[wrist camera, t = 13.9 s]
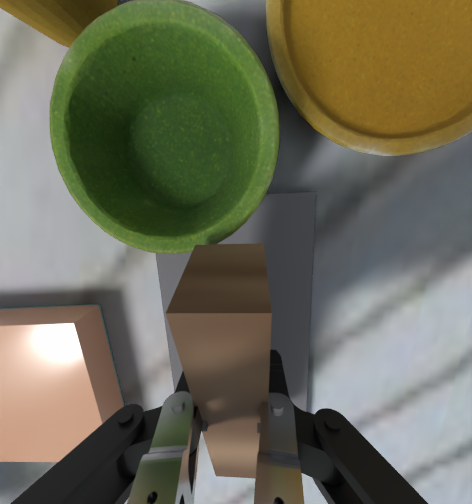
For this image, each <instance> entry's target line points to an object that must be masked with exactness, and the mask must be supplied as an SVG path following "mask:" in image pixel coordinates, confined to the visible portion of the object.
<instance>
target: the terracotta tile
mask: <svg viewBox="0 0 472 504" xmlns="http://www.w3.org/2000/svg"><path fill="white" fill-rule="evenodd" d="M124 406H125V404H124V400H123V396H122V392H121V388H120V384H119V379H118V375H117V371H116V367H115V363H114V359H113V355H112V351H111V347H110V342H109V338H108V334H107V330H106V326H105V322H104V318H103V314H102V310H101V305H100V304H86V305H62V306H37V307H12V308H0V462H59V461H60V460H61V459H62V458H64V457H65V456H66V455H67V454H68V453H69V452H70V451H72V450H73V449H74V448H75V447H76V446H77V445H79V444H80V443H81V442H82V441H83V440H84V439H85V438H87V437H88V436H89V435H90V434H91V433H92V432H93V431H95V430H96V429H97V428H98V427H99V426H100V425H102V424H103V423H104V422H105V421H106V420H107V419H108V418H110V417H111V416H112V415H113V414H114V413H115V412H116V411H118V410H119V409H121V408H122V407H124Z"/></svg>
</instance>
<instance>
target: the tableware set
mask: <svg viewBox="0 0 472 504" xmlns="http://www.w3.org/2000/svg"><path fill="white" fill-rule="evenodd" d="M0 8H1V9H3V10H5V11H6V12H8V13H10V14H11V15H13V16H15V17H16V18H18V19H19V20H21V21H23V22H24V23H26V24H28V25H29V26H31V27H33V28H34V29H36V30H38V31H39V32H41V33H43V34H44V35H46V36H48V37H49V38H51V39H53V40H54V41H56V42H58V43H59V44H62V45H64V46H67V47H69V50H68V52H67V53H66V55H65V57H64V59H63V61H62V64H61V66H60V68H59V71H58V73H57V75H56V79H55V83H54V87H53V92H52V96H51V101H50V135H51V143H52V149H53V152H54V156H55V159H56V162H57V166H58V169H59V172H60V174H61V176H62V178H63V180H64V182H65V184H66V186H67V188H68V190H69V192H70V194H71V195H72V197H73V198H74V200H75V201H76V202H77V204H78V205H79V206H80V208H81V209H82V210H83V211H84V212H85V213H86V214H87V215H88V216H89V218H90V219H91V220H92V221H93V222H94V223H95V224H97V225H98V226H99V227H100V228H101V229H102V230H104V231H105V232H106V233H108V234H110V235H111V236H113V237H114V238H116V239H118V240H119V241H121V242H123V243H126V244H128V245H130V246H132V247H135V248H138V249H142V250H145V251H148V252H153V253H159V254H183V253H189V252H192V251H193V249H194V246H195V245H211V244H218V243H219V242H221V241H223V240H224V239H226V238H228V237H229V236H231V235H232V234H233V233H235V232H236V231H237V230H238V229H239V228H240V227H241V226H242V225H244V224H245V223H246V222H247V220H248V219H249V218H250V217H251V216H252V214H253V213H254V212H255V211H256V209H257V208H258V206H259V205H260V203H261V201H262V200H263V198H264V197H265V195H266V193H267V191H268V188H269V186H270V184H271V181H272V179H273V176H274V172H275V168H276V164H277V159H278V152H279V145H280V124H279V113H278V108H277V102H276V98H275V94H274V90H273V87H272V84H271V82H270V80H269V77H268V75H267V73H266V71H265V69H264V67H263V65H262V63H261V61H260V59H259V58H258V56H257V55H256V53H255V52H254V51H253V49H252V48H251V46H250V45H249V44H248V42H247V41H246V40H245V38H244V37H243V36H242V35H241V34H240V33H239V32H238V31H237V30H236V29H235V28H234V27H233V26H231V25H230V24H229V23H227V22H226V21H225V20H224V19H222V18H221V17H220V16H218V15H216V14H214V13H212V12H210V11H208V10H206V9H204V8H202V7H200V6H198V5H196V4H193V3H191V2H187V1H183V0H134V1H129V2H126V3H124V4H121V5H119V6H118V2H117V0H0ZM265 10H266V28H267V38H268V43H269V49H270V54H271V58H272V61H273V65H274V68H275V71H276V74H277V76H278V79H279V81H280V83H281V85H282V87H283V89H284V91H285V93H286V95H287V96H288V98H289V99H290V101H291V102H292V104H293V105H294V107H295V108H296V110H297V111H298V112H299V113H300V114H301V115H302V116H303V117H304V119H305V120H306V121H307V122H308V123H309V124H310V125H311V126H312V127H313V128H314V129H315V130H316V131H318V132H319V133H321V134H322V135H324V136H325V137H327V138H328V139H330V140H331V141H333V142H335V143H337V144H339V145H342V146H344V147H346V148H349V149H352V150H355V151H358V152H361V153H367V154H374V155H380V156H402V155H409V154H416V153H421V152H425V151H429V150H432V149H435V148H438V147H441V146H444V145H446V144H449V143H452V142H454V141H457V140H458V139H460V138H462V137H464V136H466V135H468V134H470V133H471V132H472V0H266V5H265Z"/></svg>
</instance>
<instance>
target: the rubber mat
mask: <svg viewBox="0 0 472 504" xmlns="http://www.w3.org/2000/svg"><path fill="white" fill-rule="evenodd" d="M315 206H316V192H298V193H275V194H266V195H265V197H264V198H263V200H262V201H261V203H260V205H259V206H258V208H257V209H256V211H255V212H254V213H253V214H252V216H251V217H250V218H249V219H248V220H247V222H246V223H245V224H244V225H242V226H241V227H240V228H239V229H238V230H237V231H236V232H235V233H233V234H232V235H231V236H229V237H228V238H226V239H224V240H223V241H221V242H219V243H218V244H253V243H264V251H265V260H266V268H267V277H268V285H269V294H270V302H271V311H272V321H271V346H270V350H277V352H278V353H279V354H280V356H281V359H282V364H283V369H284V374H285V379H286V384H287V388H288V393H289V397H290V399H291V401H292V402H293V404H294V405H295V406H297V407H298V408H299V409H301V410H303V411H305V412H306V407H307V384H308V362H309V340H310V318H311V295H312V273H313V251H314V229H315ZM191 253H192V252H189V253H183V254H159V253H156V260H157V267H158V275H159V282H160V289H161V297H162V304H163V311H164V318H165V326H166V333H167V340H168V348H169V355H170V362H171V369H172V377H173V384H174V391H175V390H176V387H177V385H178V382H179V379H180V377H181V374H182V371H183V368H182V365H181V362H180V359H179V355H178V352H177V349H176V346H175V343H174V339H173V336H172V333H171V330H170V326H169V323H168V320H167V317H166V314H165V313H166V311H167V309H168V306H169V304H170V302H171V299H172V297H173V295H174V293H175V290H176V288H177V286H178V283H179V281H180V279H181V276H182V274H183V272H184V269H185V267H186V265H187V263H188V260H189V258H190V256H191Z"/></svg>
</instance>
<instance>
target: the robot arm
mask: <svg viewBox="0 0 472 504" xmlns="http://www.w3.org/2000/svg"><path fill="white" fill-rule="evenodd" d="M207 430H208V425H207V422H206V420H202V418H201V415H200V412H199V408H198V406H194V400H192V397H191V394H190V391H189V388H188V384H187V381H186V378H185V375H184V372H183V371H182V374H181V377H180V379H179V382H178V385H177V387H176V390H175V392H174V394H172V395H170V396H169V397H168V398H167V399H166V400H165V402H164V404H163V406H161V407H159V408H156V409H152V410H149V411H145V412H143V409H142V407H141V406H139V405H137V404H130V405H127V406H124V407H122V408H121V409H119V410H118V411H116V412H115V413H114V414H113V415H112V416H111V417H110V418H108V419H107V420H106V421H105V422H104V423H103V424H102V425H100V426H99V427H98V428H97V429H96V430H95V431H93V432H92V433H91V434H90V435H89V436H88V437H87V438H85V439H84V440H83V441H82V442H81V443H80V444H79V445H77V446H76V447H75V448H74V449H73V450H72V451H70V452H69V453H68V454H67V455H66V456H65V457H64V458H62V459H61V460H60V461H59V462H58V463H57V464H56V465H54V466H53V467H52V468H51V469H50V470H49V471H48V472H46V473H45V474H44V475H43V476H42V477H41V478H39V479H38V480H37V481H36V482H35V483H34V484H33V485H31V486H30V487H29V488H28V489H27V490H26V491H25V492H23V493H22V494H21V495H20V496H19V497H18V498H16V499H15V500H14V501H13V502H12V503H11V504H124V503H125V502H126V500H127V499H128V498H129V499H128V502H127V504H194V494H195V483H196V473H197V463H198V452H199V439H200V434H201V431H206V432H207ZM257 433H260V437H259V451H258V454H257V466H256V481H255V496H254V504H304V496H303V485H302V475H301V473H303V474H306V475H308V476H310V477H312V478H313V480H314V482H315V484H316V485H317V487H318V488H319V490H320V492H321V493H322V495H323V496H324V498H325V499H326V501H327V503H328V504H428V503H427V502H426V501H425V500H424V499H423V498H422V497H421V496H420V495H419V494H418V493H417V491H416V490H415V489H414V488H413V487H412V486H411V485H410V484H409V483H408V482H407V481H406V480H405V479H404V478H403V477H402V476H401V475H400V474H399V473H398V472H397V471H396V470H395V469H394V468H393V467H392V466H391V465H390V464H389V463H388V462H387V460H386V459H385V458H384V457H383V456H382V455H381V454H380V453H379V452H378V451H377V450H376V449H375V448H374V447H373V446H372V445H371V444H370V443H369V442H368V441H367V440H366V439H365V438H364V437H363V436H362V435H361V434H360V433H359V432H358V430H357V429H356V428H355V427H354V426H353V425H352V424H351V423H350V422H349V421H348V420H347V419H346V418H345V417H344V416H343V415H342V414H340V413H339V412H337V411H335V410H332V409H327V408H326V409H320V410H319V411H317V412H316V414H311V413H308V412H305V411H303V410H301V409H299V408H298V407H297V406H295V405H294V404H293V402H292V401H291V399H290V397H289V393H288V388H287V384H286V379H285V374H284V369H283V364H282V359H281V356H280V354H279V353H278V352H277V350H270V372H269V397H268V402H262V405H261V421H260V423H257Z"/></svg>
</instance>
